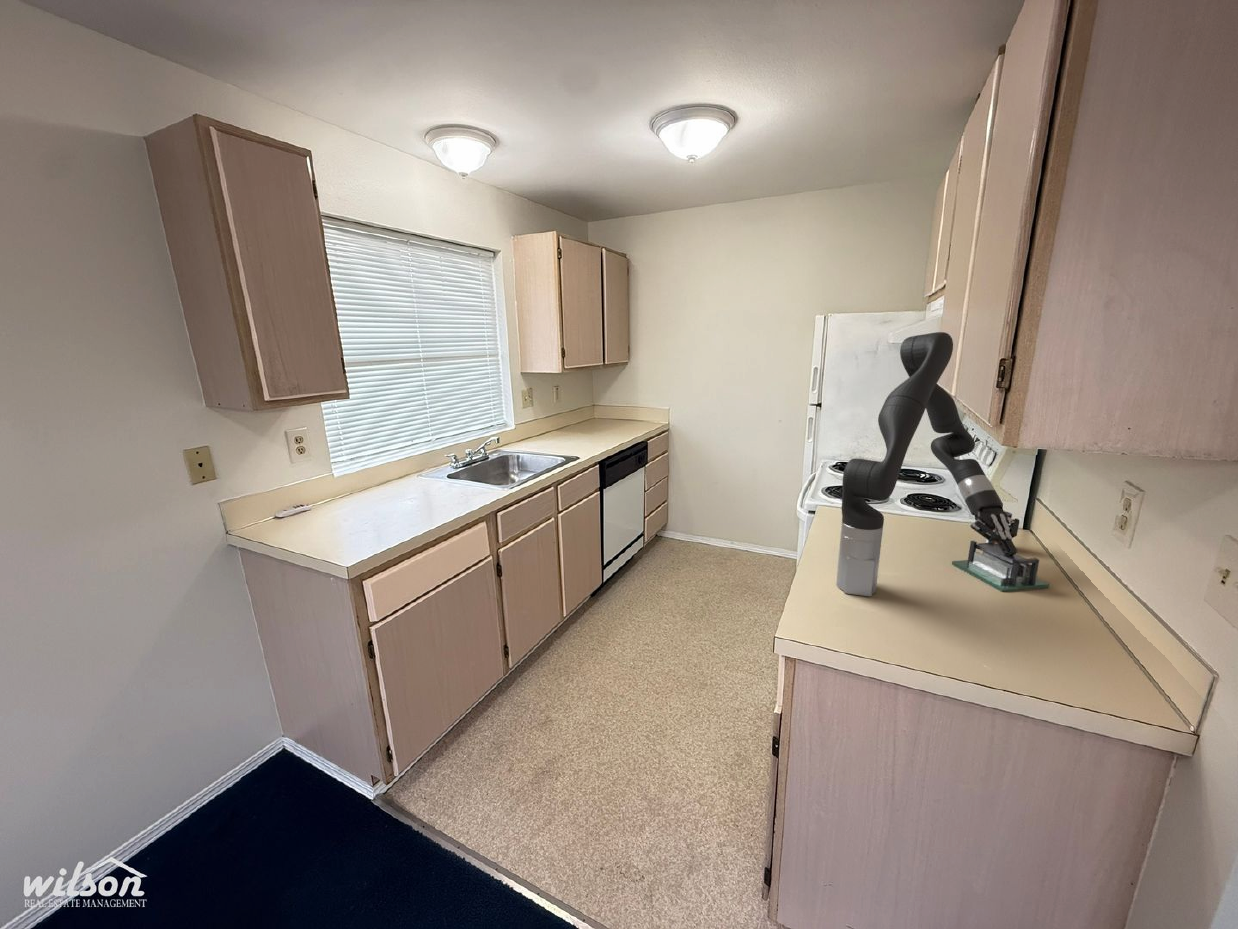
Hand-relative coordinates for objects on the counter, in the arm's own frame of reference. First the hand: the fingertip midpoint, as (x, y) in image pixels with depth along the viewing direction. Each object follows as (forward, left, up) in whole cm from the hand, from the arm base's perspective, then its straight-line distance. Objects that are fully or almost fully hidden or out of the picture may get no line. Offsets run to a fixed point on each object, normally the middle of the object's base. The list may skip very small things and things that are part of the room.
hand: (1011, 554), depth 126 cm
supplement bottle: (+24, -5, -7) cm, 26 cm away
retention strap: (+8, +4, -1) cm, 9 cm away
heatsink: (+3, +1, -7) cm, 8 cm away
